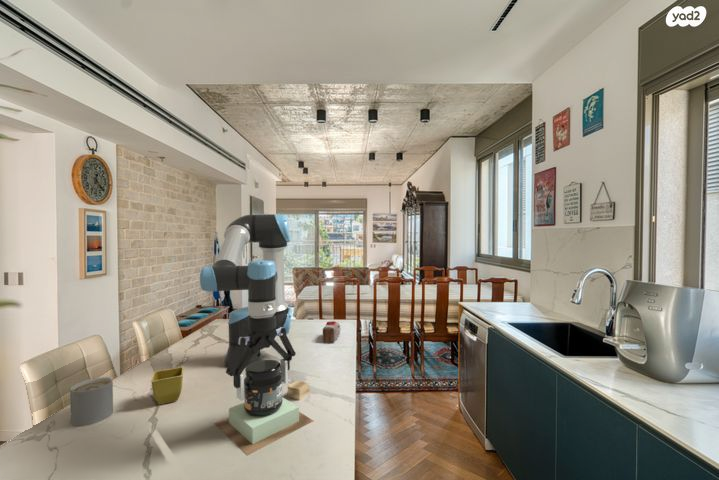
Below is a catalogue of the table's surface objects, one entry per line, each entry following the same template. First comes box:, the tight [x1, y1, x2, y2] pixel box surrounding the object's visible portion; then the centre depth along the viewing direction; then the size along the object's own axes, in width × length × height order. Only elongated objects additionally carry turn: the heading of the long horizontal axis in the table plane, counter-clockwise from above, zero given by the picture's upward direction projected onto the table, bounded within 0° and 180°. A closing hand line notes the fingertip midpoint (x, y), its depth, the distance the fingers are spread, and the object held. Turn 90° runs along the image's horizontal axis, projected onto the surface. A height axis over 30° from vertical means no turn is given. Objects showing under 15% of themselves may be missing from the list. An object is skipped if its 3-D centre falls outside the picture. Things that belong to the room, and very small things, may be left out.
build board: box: [213, 411, 314, 456], centre depth 91 cm, size 20×20×2 cm
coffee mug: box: [69, 376, 114, 427], centre depth 100 cm, size 13×10×10 cm
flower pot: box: [150, 366, 184, 405], centre depth 108 cm, size 9×9×9 cm
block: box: [287, 380, 310, 401], centre depth 107 cm, size 5×5×5 cm
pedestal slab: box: [228, 396, 300, 444], centre depth 91 cm, size 14×14×4 cm
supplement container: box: [243, 359, 283, 416], centre depth 91 cm, size 10×10×12 cm
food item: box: [322, 320, 341, 344], centre depth 171 cm, size 14×8×10 cm, turn 173°
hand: (263, 389), depth 91 cm, fingers open, 13 cm apart
